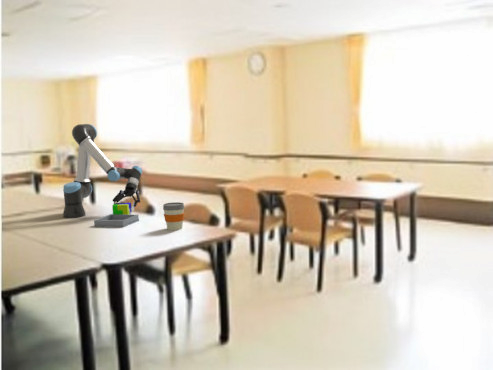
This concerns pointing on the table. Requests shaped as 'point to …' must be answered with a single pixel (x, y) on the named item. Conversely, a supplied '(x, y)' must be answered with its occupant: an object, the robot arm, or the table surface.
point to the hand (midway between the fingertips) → (122, 210)
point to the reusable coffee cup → (174, 215)
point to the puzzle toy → (122, 208)
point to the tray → (116, 220)
